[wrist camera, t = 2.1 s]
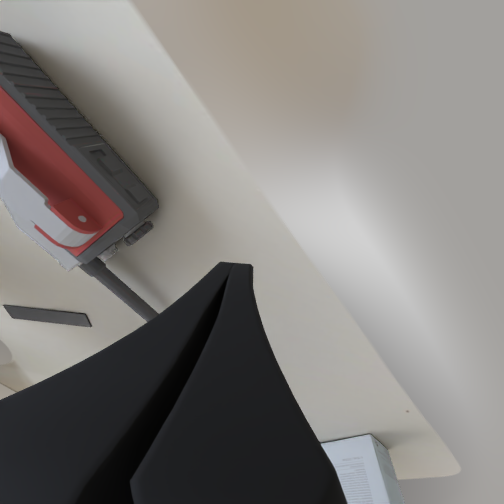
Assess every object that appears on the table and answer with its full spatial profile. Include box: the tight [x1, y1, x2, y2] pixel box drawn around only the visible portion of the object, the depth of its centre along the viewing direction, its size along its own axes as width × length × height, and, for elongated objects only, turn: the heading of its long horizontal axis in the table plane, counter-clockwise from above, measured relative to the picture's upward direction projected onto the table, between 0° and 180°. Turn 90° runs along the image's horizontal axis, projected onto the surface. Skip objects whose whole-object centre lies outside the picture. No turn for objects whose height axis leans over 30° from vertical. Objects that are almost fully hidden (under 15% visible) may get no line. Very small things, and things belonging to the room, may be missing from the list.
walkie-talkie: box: [0, 31, 159, 322], centre depth 14 cm, size 9×4×20 cm
